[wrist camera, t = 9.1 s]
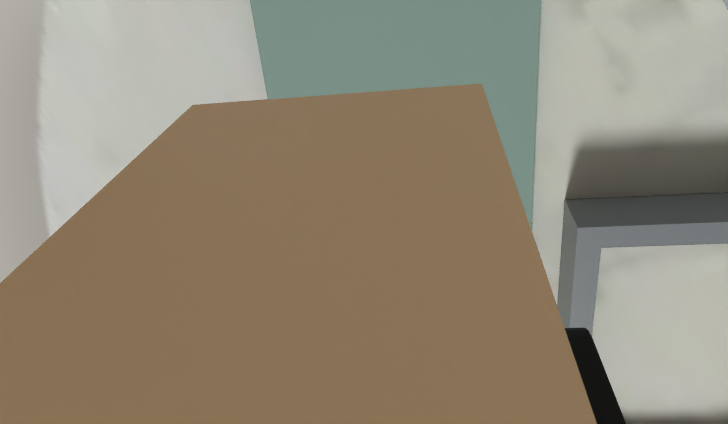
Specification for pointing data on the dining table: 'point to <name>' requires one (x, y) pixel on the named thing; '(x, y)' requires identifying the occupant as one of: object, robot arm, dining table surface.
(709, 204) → the equipment case
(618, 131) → the dining table surface
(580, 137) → the dining table surface
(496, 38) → the rubber mat
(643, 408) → the dining table surface
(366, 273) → the block
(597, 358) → the robot arm
